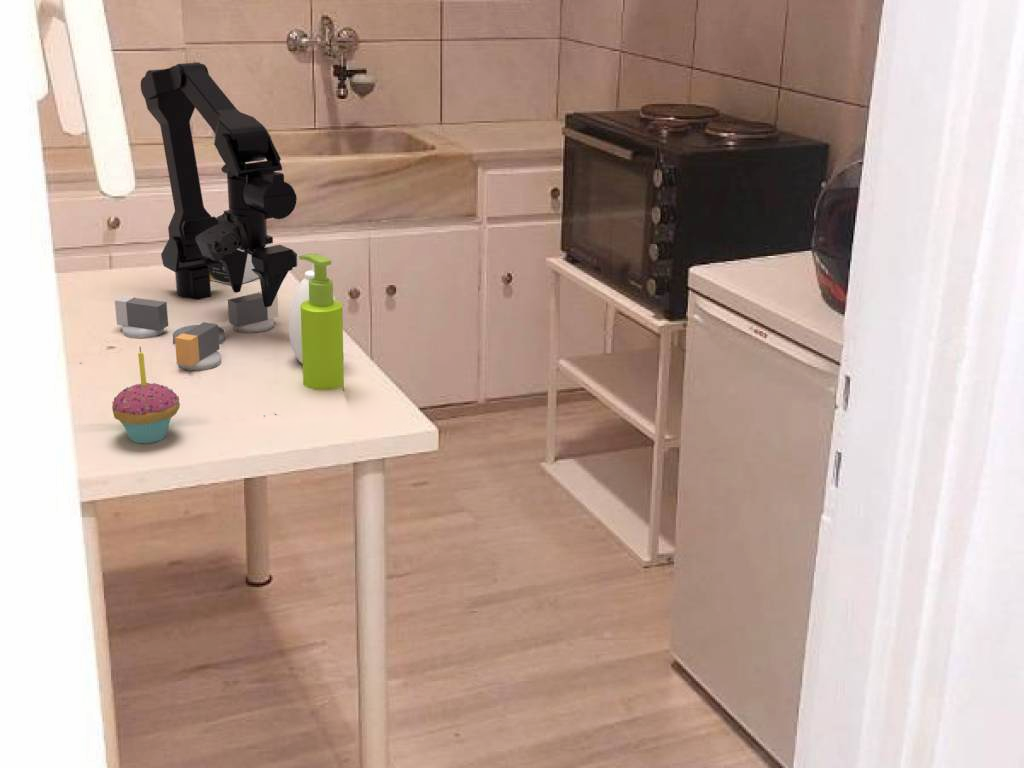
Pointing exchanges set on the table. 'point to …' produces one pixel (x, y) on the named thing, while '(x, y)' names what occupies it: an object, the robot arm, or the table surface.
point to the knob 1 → (198, 347)
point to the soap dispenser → (321, 331)
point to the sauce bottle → (299, 313)
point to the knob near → (141, 316)
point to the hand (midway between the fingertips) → (252, 299)
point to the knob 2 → (252, 313)
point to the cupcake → (145, 408)
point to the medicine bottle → (219, 272)
